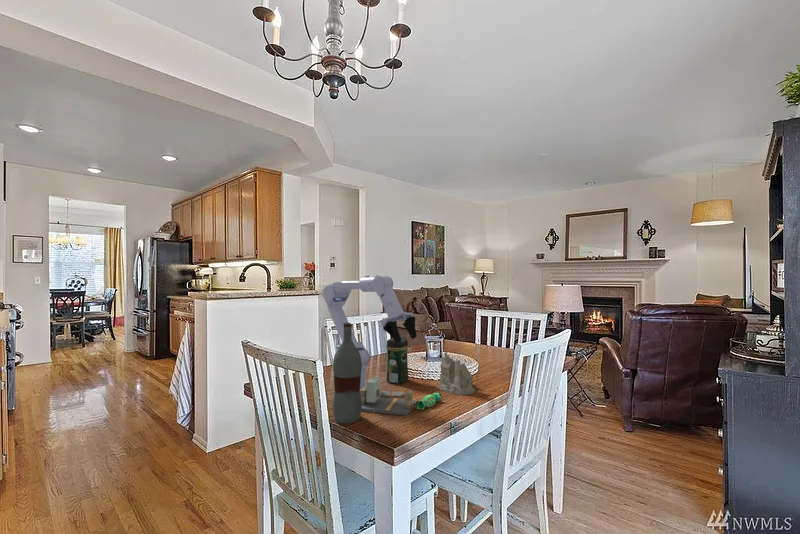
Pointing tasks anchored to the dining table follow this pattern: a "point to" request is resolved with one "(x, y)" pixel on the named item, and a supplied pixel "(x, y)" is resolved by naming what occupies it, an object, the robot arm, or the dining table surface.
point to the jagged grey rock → (455, 377)
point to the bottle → (347, 380)
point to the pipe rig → (388, 402)
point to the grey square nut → (373, 389)
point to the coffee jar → (397, 361)
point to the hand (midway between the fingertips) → (407, 340)
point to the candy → (428, 400)
